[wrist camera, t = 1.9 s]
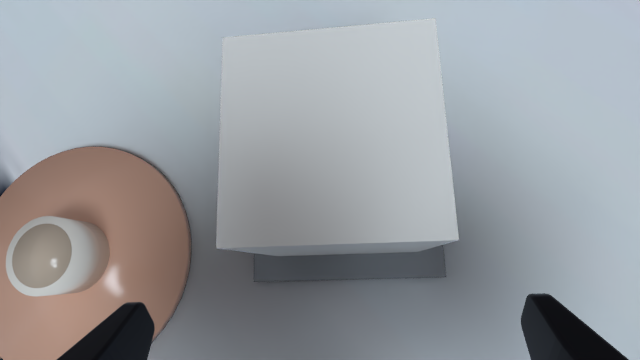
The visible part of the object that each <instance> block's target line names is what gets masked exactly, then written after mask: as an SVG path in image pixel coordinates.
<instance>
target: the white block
mask: <svg viewBox="0 0 640 360" xmlns="http://www.w3.org/2000/svg"><path fill="white" fill-rule="evenodd" d="M458 240H459V235H458V226H457V216H456V207H455V197H454V188H453V179H452V169H451V160H450V150H449V141H448V131H447V122H446V112H445V103H444V93H443V84H442V74H441V65H440V55H439V46H438V36H437V27H436V18H432V19H421V20H410V21H399V22H388V23H377V24H366V25H355V26H344V27H333V28H322V29H311V30H300V31H289V32H278V33H267V34H256V35H245V36H234V37H223V42H222V73H221V104H220V135H219V166H218V197H217V228H216V248H217V249H225V250H233V251H241V252H248V253H256V254H264V255H272V256H302V255H334V254H366V253H398V252H419V251H423V250H426V249H430V248H433V247H437V246H440V245H444V244H447V243H451V242H454V241H458Z"/></svg>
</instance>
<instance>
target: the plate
mask: <svg viewBox="0 0 640 360" xmlns="http://www.w3.org/2000/svg"><path fill="white" fill-rule="evenodd" d="M43 216H54V217H60V218H67V219H73V220H79V221H85V222H90V223H92V224H94V225H96V226H98V227H99V228H100V229H101V230H102V231H103V232H104V234H105V235H106V237H107V240H108V243H109V249H110V256H109V261H108V265H107V268H106V270H105V272H104V274H103V275H102V277H101V278H100V279H99V280H98V282H97V283H95V284H94V285H93V286H92V287H90V288H89V289H87V290H85V291H82V292H79V293H71V294H60V295H49V296H38V297H35V296H28V295H25V294H23V293H21V292H19V291H18V290H17V289H16V288H15V287H14V286H13V285H12V283H11V282H10V280H9V278H8V275H7V272H6V255H7V250H8V247H9V245H10V243H11V241H12V239H13V237H14V236H15V234H16V233H17V232H18V231H19V230H20V229H21V228H22V227H23V226H24V225H25V224H27V223H28V222H30V221H31V220H33V219H36V218H39V217H43ZM190 260H191V235H190V228H189V222H188V219H187V215H186V211H185V209H184V206H183V204H182V202H181V199H180V197H179V196H178V194H177V192H176V191H175V189H174V187H173V186H172V185H171V183H170V182H169V181H168V180H167V179H166V177H165V176H164V175H163V174H162V173H160V172H159V171H158V170H157V169H156V168H155V167H153V166H152V165H150V164H149V163H147V162H146V161H144V160H142V159H140V158H138V157H136V156H134V155H132V154H129V153H127V152H124V151H121V150H117V149H113V148H106V147H83V148H75V149H71V150H68V151H64V152H61V153H58V154H56V155H53V156H51V157H48V158H47V159H45V160H43V161H41V162H39V163H37V164H36V165H34V166H33V167H31V168H30V169H29V170H27V171H26V172H24V173H23V174H22V175H21V176H20V177H19V178H17V179H16V180H15V181H14V182H13V183H12V184H11V185H10V186H9V187H8V189H7V190H6V191H5V192H4V193H3V194H2V196H1V197H0V357H1V358H2V359H3V360H57V359H58V358H59V357H60V356H61V355H63V354H64V353H65V352H66V351H67V350H69V349H70V348H71V347H72V346H73V345H75V344H76V343H77V342H78V341H79V340H81V339H82V338H83V337H84V336H85V335H87V334H88V333H89V332H90V331H91V330H93V329H94V328H95V327H96V326H97V325H99V324H100V323H101V322H102V321H104V320H105V319H106V318H107V317H108V316H110V315H111V314H112V313H113V312H114V311H116V310H117V309H118V308H119V307H120V306H122V305H123V304H125V303H127V302H142V303H144V304H145V306H146V308H147V310H148V312H149V314H150V316H151V318H152V320H153V322H154V326H155V330H154V335H153V339H152V342H153V341H154V340H155V338H156V337H157V336H158V335H159V334H160V332H161V331H162V330H163V329H164V328H165V326H166V324H167V323H168V321H169V320H170V318H171V317H172V315H173V314H174V312H175V310H176V308H177V306H178V304H179V302H180V300H181V297H182V294H183V291H184V289H185V286H186V282H187V278H188V274H189V269H190Z"/></svg>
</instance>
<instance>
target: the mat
mask: <svg viewBox="0 0 640 360" xmlns="http://www.w3.org/2000/svg"><path fill="white" fill-rule="evenodd" d="M429 277H446V270H445V260H444V249H443V245H440V246H437V247H433V248H430V249H426V250H423V251H419V252H398V253H366V254H334V255H302V256H272V255H264V254H256V253H254V282H265V281H306V280H347V279H388V278H429Z"/></svg>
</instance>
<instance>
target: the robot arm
mask: <svg viewBox="0 0 640 360" xmlns="http://www.w3.org/2000/svg"><path fill="white" fill-rule="evenodd" d="M521 325H522V330H523V333H524V337H525V340H526V344H527V347H528V351H529V354H530V358H531V360H629V359H627V358H626V357H625V356H624V355H622V354H621V353H620V352H619V351H618V350H616V349H615V348H614V347H613V346H612V345H610V344H609V343H608V342H607V341H606V340H604V339H603V338H602V337H601V336H600V335H598V334H597V333H596V332H595V331H593V330H592V329H591V328H590V327H589V326H587V325H586V324H585V323H584V322H583V321H581V320H580V319H579V318H578V317H577V316H575V315H574V314H573V313H572V312H571V311H569V310H568V309H567V308H566V307H564V306H563V305H562V304H561V303H560V302H558V301H557V300H556V299H555V298H554V297H552V296H551V295H549V294H545V293H543V294H529V295H528V296H527V298H526V302H525V305H524V309H523V313H522V316H521ZM154 330H155V326H154V322H153V320H152V318H151V316H150V314H149V312H148V310H147V308H146V306H145V304H144V303H142V302H127V303H125V304H123V305H122V306H120V307H119V308H118V309H117V310H116V311H114V312H113V313H112V314H111V315H110V316H108V317H107V318H106V319H105V320H104V321H102V322H101V323H100V324H99V325H97V326H96V327H95V328H94V329H93V330H91V331H90V332H89V333H88V334H87V335H85V336H84V337H83V338H82V339H81V340H79V341H78V342H77V343H76V344H75V345H73V346H72V347H71V348H70V349H69V350H67V351H66V352H65V353H64V354H63V355H61V356H60V357H59V358H58V359H57V360H147V358H148V354H149V350H150V346H151V343H152V339H153V335H154Z"/></svg>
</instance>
